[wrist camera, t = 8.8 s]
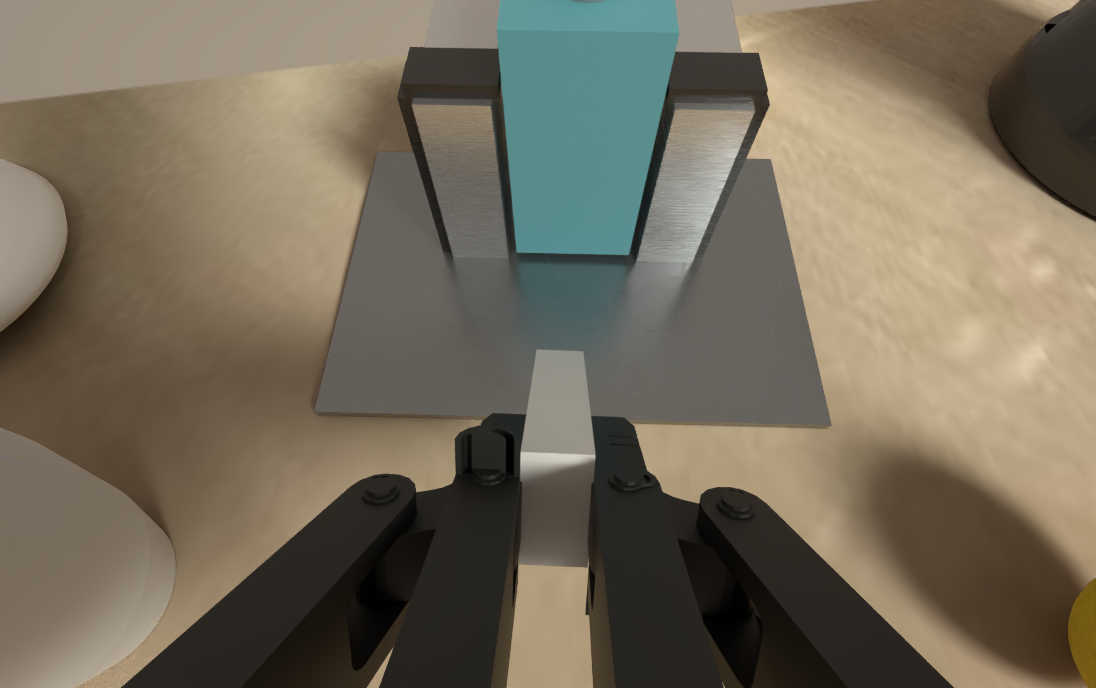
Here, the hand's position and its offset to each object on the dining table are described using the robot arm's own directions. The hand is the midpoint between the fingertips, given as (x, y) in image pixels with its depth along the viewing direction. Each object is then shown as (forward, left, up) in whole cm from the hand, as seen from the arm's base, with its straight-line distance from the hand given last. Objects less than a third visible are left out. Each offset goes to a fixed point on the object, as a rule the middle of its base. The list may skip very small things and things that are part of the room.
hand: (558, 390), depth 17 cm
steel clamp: (-1, -7, -4) cm, 8 cm away
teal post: (-1, -11, -4) cm, 11 cm away
